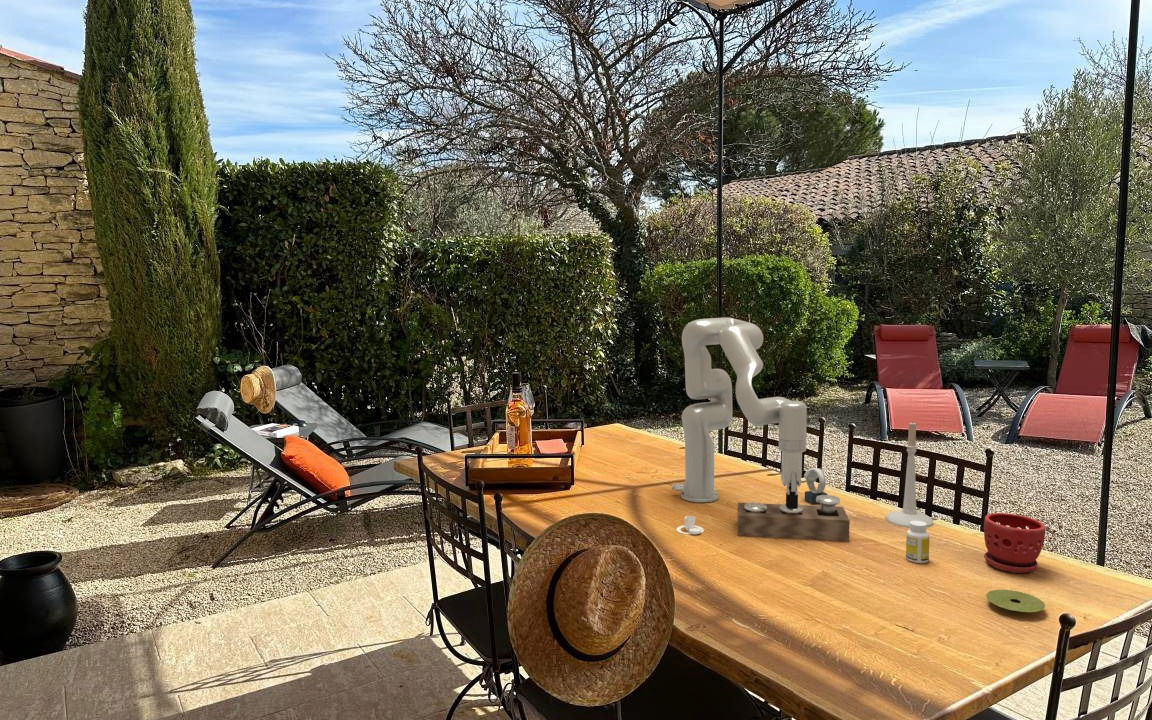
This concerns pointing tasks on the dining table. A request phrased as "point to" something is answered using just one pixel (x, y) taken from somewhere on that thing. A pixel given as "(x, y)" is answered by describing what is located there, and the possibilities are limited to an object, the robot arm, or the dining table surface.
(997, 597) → the mat
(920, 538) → the supplement bottle
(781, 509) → the knob mid
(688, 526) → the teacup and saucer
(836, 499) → the knob
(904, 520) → the candlestick
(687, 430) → the robot arm
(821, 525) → the knob bar
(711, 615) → the dining table surface
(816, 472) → the watch
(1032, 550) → the plant pot
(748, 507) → the knob
